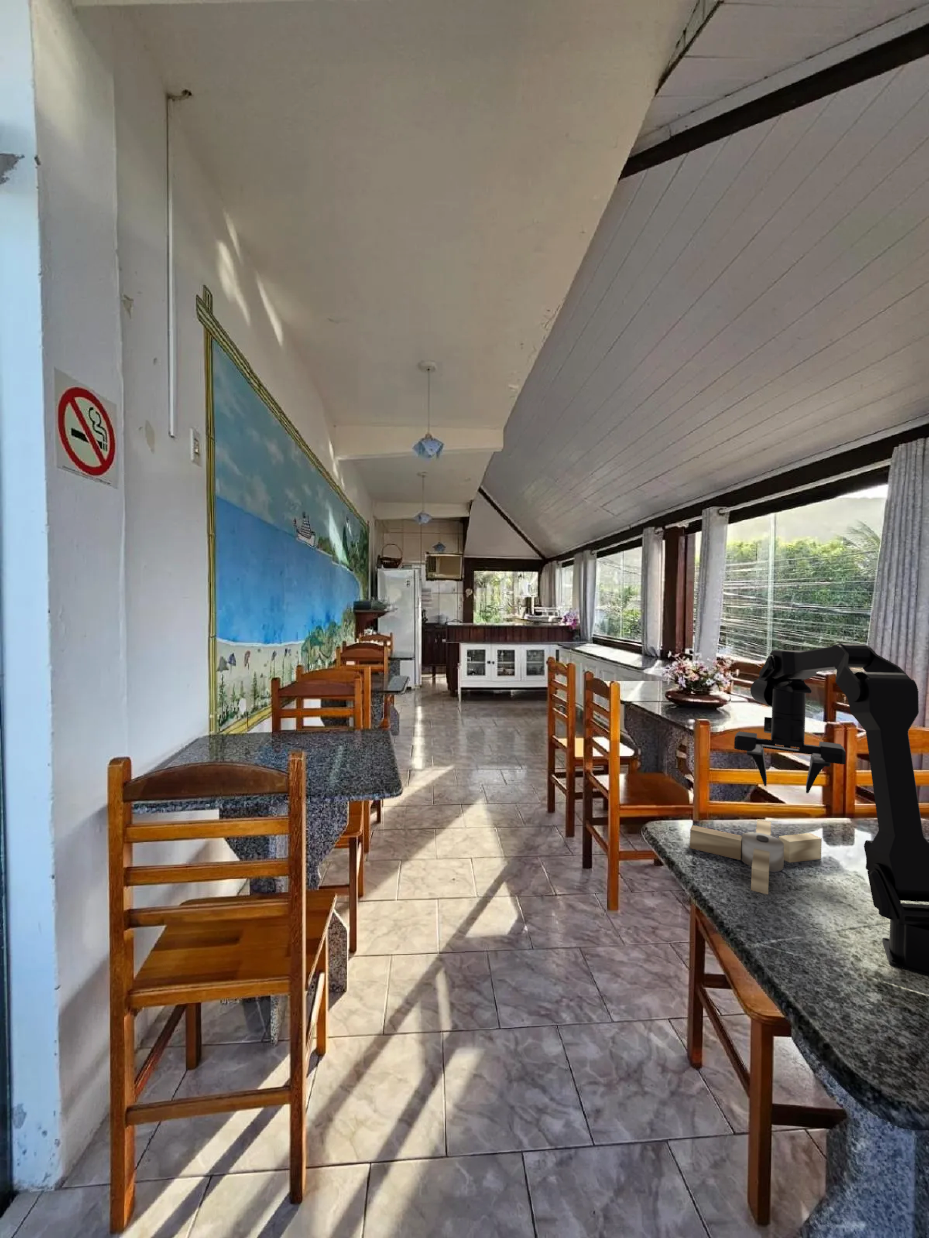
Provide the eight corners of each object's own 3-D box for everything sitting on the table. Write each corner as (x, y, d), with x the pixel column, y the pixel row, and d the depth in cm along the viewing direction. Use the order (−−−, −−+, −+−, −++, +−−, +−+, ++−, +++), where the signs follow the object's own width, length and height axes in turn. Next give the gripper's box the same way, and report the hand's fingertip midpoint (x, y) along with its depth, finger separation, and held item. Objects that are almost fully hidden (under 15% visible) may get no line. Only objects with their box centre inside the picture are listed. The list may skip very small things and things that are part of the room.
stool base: (783, 900, 86) (784, 870, 86) (680, 872, 94) (681, 845, 94) (783, 843, 107) (783, 819, 107) (699, 825, 116) (699, 803, 116)
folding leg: (789, 862, 98) (789, 841, 98) (778, 856, 101) (778, 836, 101) (821, 858, 100) (821, 838, 100) (809, 852, 103) (810, 832, 103)
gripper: (841, 711, 107) (838, 786, 107) (738, 701, 116) (736, 770, 117) (847, 721, 97) (844, 803, 97) (735, 709, 107) (732, 784, 107)
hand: (785, 789), depth 105 cm, fingers open, 7 cm apart
